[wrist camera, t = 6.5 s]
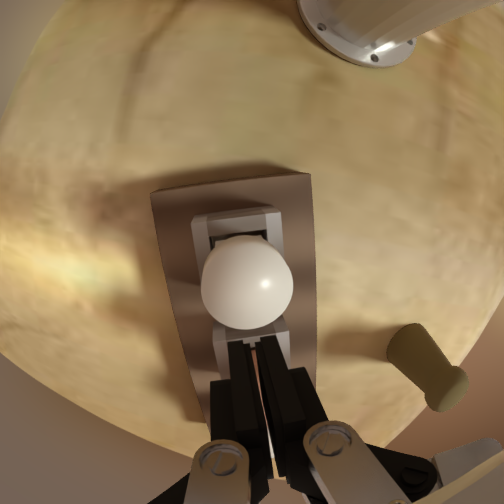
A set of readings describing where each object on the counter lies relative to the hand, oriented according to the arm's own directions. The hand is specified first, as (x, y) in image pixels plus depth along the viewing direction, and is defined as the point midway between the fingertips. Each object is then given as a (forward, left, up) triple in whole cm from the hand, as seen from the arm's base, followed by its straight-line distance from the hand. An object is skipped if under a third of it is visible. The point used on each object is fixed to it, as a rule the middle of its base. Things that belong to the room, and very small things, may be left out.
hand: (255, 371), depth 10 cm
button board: (+9, 0, -17) cm, 19 cm away
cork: (+16, +19, -17) cm, 30 cm away
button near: (0, 0, -11) cm, 11 cm away
